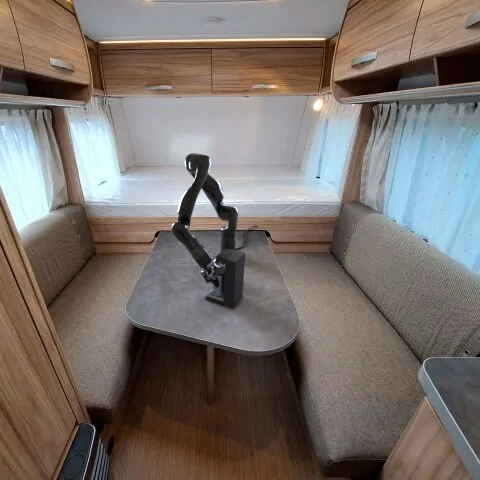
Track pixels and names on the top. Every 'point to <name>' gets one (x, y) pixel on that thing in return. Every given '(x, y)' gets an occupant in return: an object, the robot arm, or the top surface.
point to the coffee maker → (230, 277)
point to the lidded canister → (219, 277)
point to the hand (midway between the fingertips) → (222, 282)
